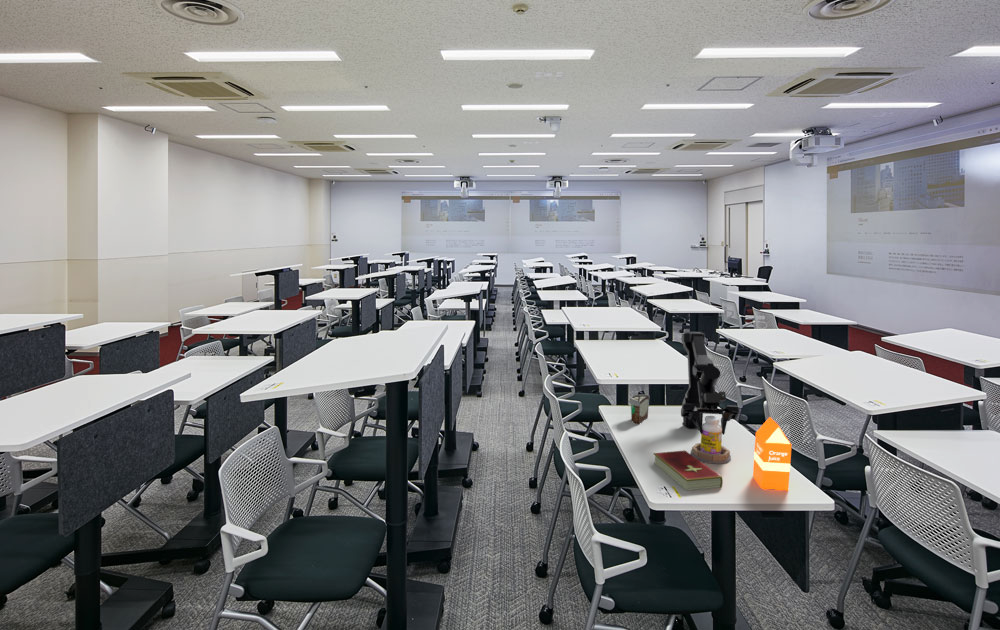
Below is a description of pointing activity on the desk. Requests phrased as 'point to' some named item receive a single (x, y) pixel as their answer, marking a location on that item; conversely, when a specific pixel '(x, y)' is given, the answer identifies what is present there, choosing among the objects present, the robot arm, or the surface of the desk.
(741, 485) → the desk surface
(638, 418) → the food container
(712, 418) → the supplement bottle
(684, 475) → the hardcover book
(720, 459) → the coaster ring
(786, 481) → the orange juice
